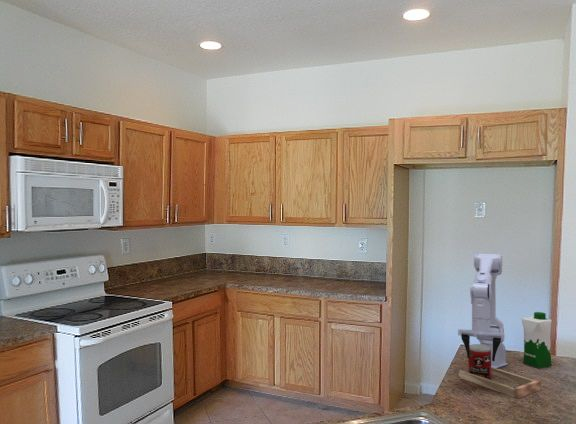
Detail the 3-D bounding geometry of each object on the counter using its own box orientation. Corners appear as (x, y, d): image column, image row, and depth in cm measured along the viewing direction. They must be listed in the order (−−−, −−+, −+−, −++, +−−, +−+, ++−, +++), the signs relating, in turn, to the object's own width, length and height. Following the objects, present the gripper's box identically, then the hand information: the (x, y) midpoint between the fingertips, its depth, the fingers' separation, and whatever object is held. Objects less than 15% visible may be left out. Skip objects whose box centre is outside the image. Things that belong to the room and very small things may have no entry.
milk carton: (555, 366, 176) (554, 314, 176) (539, 369, 173) (538, 317, 173) (534, 359, 184) (533, 310, 184) (519, 363, 181) (518, 312, 181)
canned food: (467, 379, 164) (466, 348, 164) (469, 372, 172) (469, 343, 172) (490, 382, 161) (490, 351, 161) (492, 375, 168) (491, 345, 168)
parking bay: (481, 370, 173) (481, 362, 173) (541, 389, 154) (541, 380, 154) (458, 377, 166) (458, 369, 166) (518, 398, 147) (517, 389, 147)
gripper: (457, 317, 155) (457, 358, 153) (504, 321, 149) (504, 364, 147) (459, 315, 161) (458, 355, 160) (504, 319, 155) (504, 360, 154)
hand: (480, 359), depth 154 cm, fingers open, 7 cm apart
